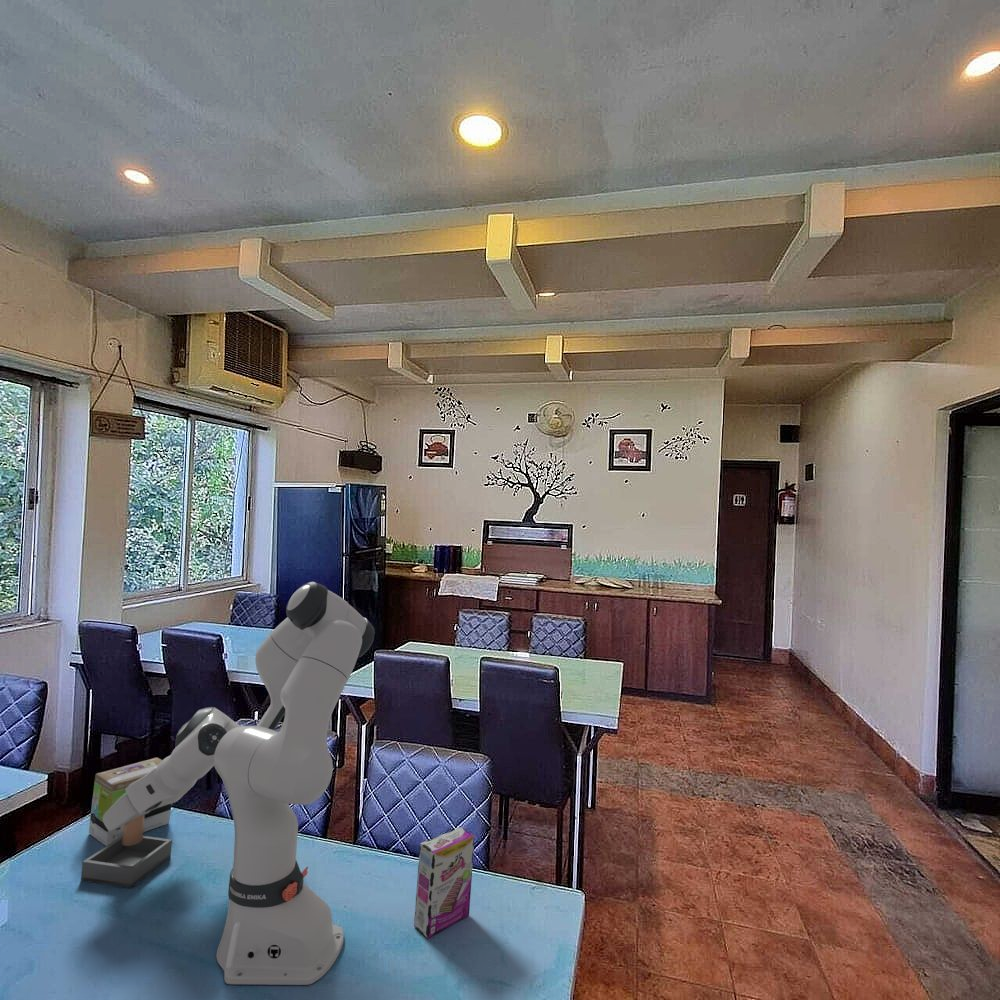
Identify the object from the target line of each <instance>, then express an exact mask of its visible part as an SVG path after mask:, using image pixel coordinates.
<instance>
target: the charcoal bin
mask: <svg viewBox="0 0 1000 1000" xmlns="http://www.w3.org/2000/svg"><path fill="white" fill-rule="evenodd" d="M172 844H173V839H168V838H163V837H157V836H156V837H155V836H148V835H143V840H142V841H141V842H140V843H138V844H135V845H131V846H124V845H122V836H121V837H119V838H118V839H116V840H115V841H113V842H112V843H110V844H109V845H107V846H104V847H103V848H101V849H100V850H98V851H96V852H95V853H93V854H92V855H91V856H89V857H87V858H86V859H84V860H83V861H82V862H81V863H82V865H81V874H80V875H81V877H80V882H86V883H94V884H98V885H105V886H106V885H107V886H113V887H119V888H127V889H132V888H134V887H135V886H136V885H137V884H138V883H140V882H142V881H143V879H145V878H146V877H148V876H149V875H150V874H151V873H152V872H154V871H155V870H156V869H158V868H159V867H160V866H161V865H163V864H164V863H165V862H167V861H168V860H170V859H171V856H172V847H173V846H172Z"/></svg>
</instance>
